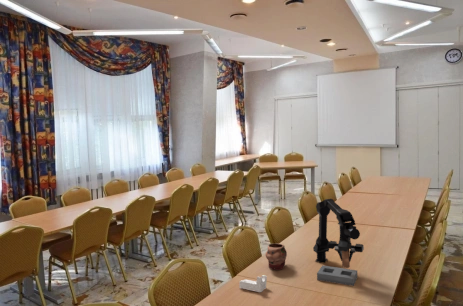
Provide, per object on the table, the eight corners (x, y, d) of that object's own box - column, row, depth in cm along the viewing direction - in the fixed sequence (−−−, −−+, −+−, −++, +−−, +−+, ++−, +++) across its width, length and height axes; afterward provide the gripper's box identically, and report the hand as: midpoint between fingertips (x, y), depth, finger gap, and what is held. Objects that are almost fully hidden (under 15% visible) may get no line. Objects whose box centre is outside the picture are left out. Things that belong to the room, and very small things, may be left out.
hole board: (322, 271, 210) (322, 265, 210) (357, 277, 201) (357, 270, 200) (317, 279, 200) (316, 273, 200) (353, 285, 190) (353, 278, 190)
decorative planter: (274, 259, 234) (273, 239, 233) (292, 262, 228) (291, 241, 227) (262, 270, 217) (261, 248, 216) (280, 274, 210) (279, 251, 209)
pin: (341, 267, 196) (341, 249, 196) (343, 264, 200) (342, 247, 199) (348, 268, 195) (348, 250, 194) (350, 265, 198) (349, 248, 197)
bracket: (265, 290, 193) (266, 275, 194) (260, 292, 187) (261, 277, 188) (245, 285, 200) (246, 272, 201) (239, 287, 194) (240, 273, 195)
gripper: (324, 236, 193) (325, 264, 195) (360, 240, 184) (361, 269, 186) (329, 230, 203) (330, 257, 204) (363, 234, 194) (364, 261, 195)
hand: (345, 261), depth 197 cm, fingers closed on pin, 4 cm apart
